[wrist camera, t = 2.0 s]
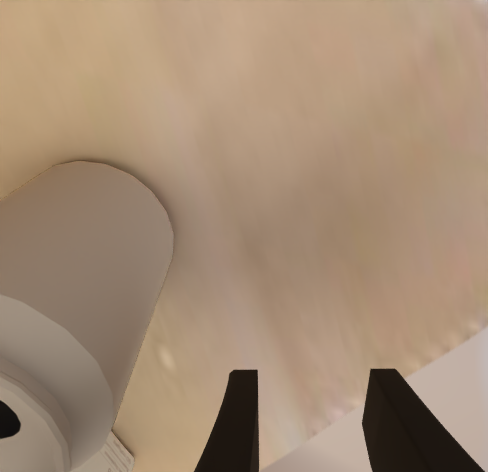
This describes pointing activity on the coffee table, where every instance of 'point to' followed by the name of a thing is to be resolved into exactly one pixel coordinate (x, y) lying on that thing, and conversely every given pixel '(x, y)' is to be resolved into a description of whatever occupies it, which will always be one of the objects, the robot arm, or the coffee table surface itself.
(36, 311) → the can
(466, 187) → the coffee table surface
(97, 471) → the white packaging box
